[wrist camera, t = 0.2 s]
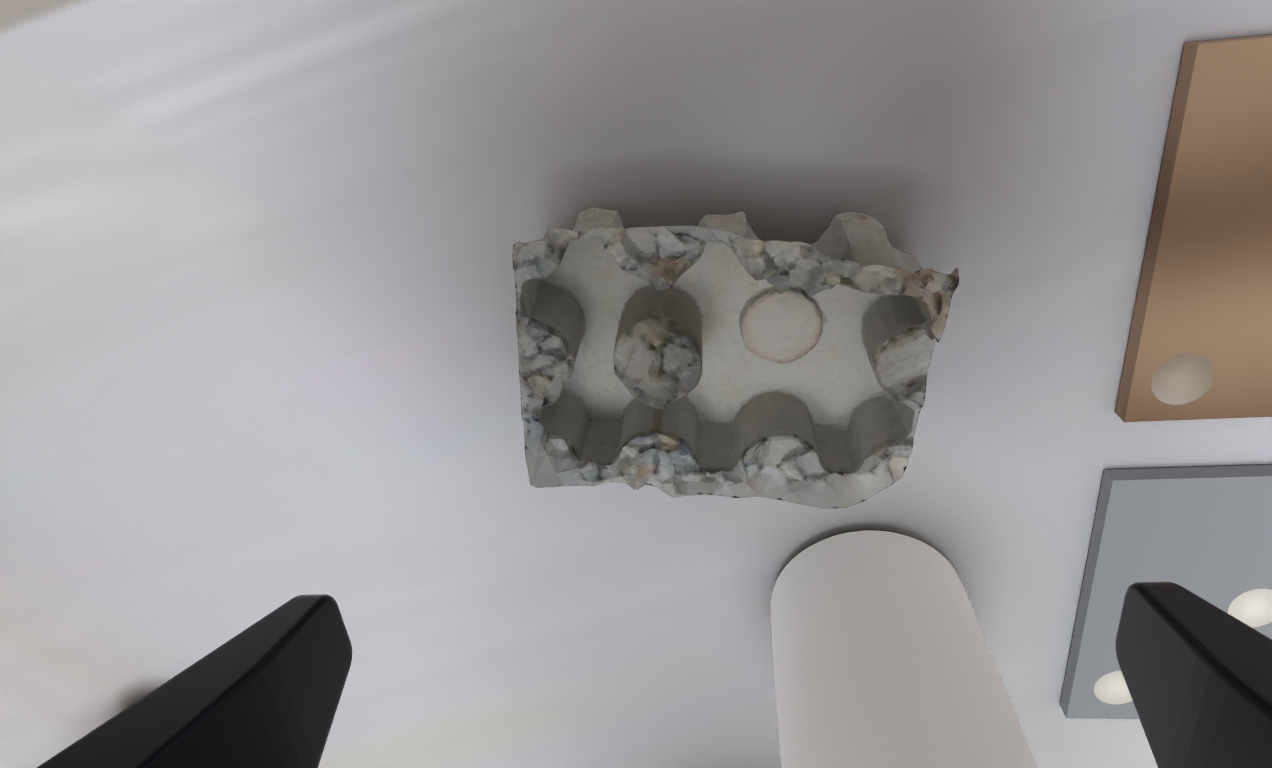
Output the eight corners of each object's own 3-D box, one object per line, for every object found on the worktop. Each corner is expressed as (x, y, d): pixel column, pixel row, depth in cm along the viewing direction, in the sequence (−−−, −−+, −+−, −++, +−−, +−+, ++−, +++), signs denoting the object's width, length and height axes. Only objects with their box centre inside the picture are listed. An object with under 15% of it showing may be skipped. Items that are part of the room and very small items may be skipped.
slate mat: (1369, 706, 27) (1382, 721, 26) (1059, 703, 28) (1066, 718, 28) (1476, 458, 22) (1494, 470, 22) (1103, 469, 24) (1113, 480, 23)
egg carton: (940, 208, 20) (992, 268, 17) (880, 446, 24) (912, 536, 20) (530, 182, 20) (496, 235, 17) (536, 420, 24) (509, 504, 21)
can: (730, 595, 27) (734, 977, 17) (873, 487, 25) (986, 857, 14) (855, 693, 29) (931, 1102, 18) (1002, 601, 26) (1192, 1014, 16)
